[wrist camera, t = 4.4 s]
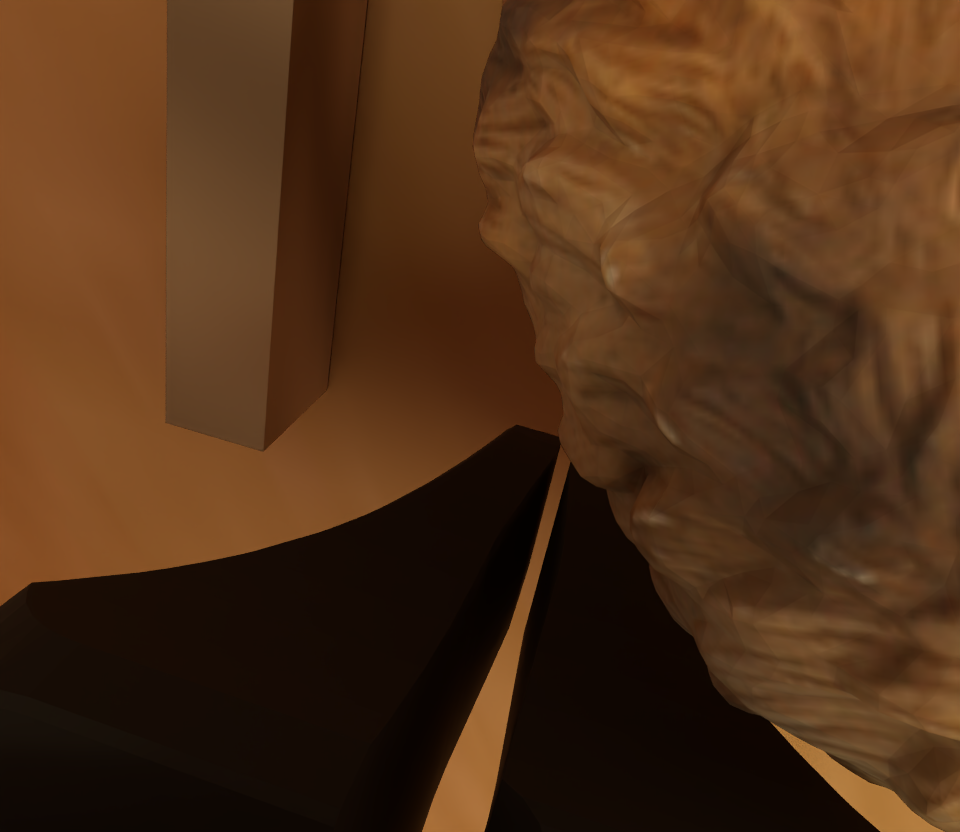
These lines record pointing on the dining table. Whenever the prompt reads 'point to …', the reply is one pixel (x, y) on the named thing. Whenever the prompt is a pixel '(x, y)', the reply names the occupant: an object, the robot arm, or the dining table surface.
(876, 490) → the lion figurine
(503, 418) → the dining table surface
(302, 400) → the flange channel
